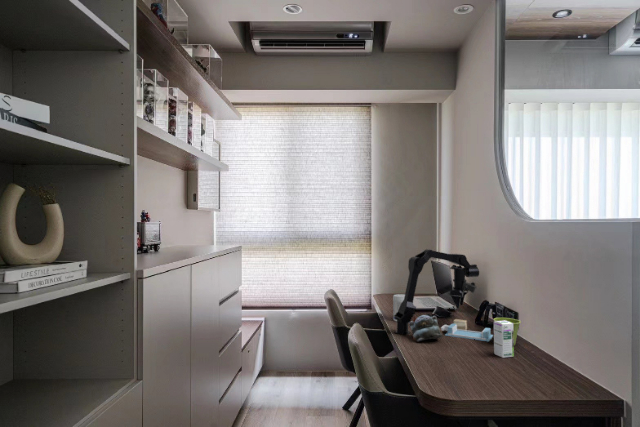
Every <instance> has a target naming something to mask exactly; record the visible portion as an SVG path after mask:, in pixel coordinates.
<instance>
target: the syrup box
mask: <svg viewBox="0 0 640 427" xmlns="http://www.w3.org/2000/svg"><path fill="white" fill-rule="evenodd" d="M514 346H515V345H514V333H513V323H512V322H509V321H505V320H504V321H494V320H493V351H494V352H493V353H494V355H496V356H498V357H500V358H502V359H504V358H512V357H515V350H514V349H515V347H514Z"/></svg>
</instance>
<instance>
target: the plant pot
mask: <svg viewBox="0 0 640 427" xmlns="http://www.w3.org/2000/svg"><path fill="white" fill-rule="evenodd" d="M504 320H505V321H509V322H512V323H513V333H514V346H515V345H516V342H517V339H518V338H517V336H518V332H519V331H518V330H519V328H520V324H521V323H522V322H521V320H519V319H517V318H516V319H515V318H509V317H495V318H493V322H494V321H504Z"/></svg>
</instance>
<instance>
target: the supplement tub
mask: <svg viewBox="0 0 640 427" xmlns="http://www.w3.org/2000/svg"><path fill="white" fill-rule="evenodd" d="M404 297H405V293H404V294H401V293H398V294H394V295H392V316H393V317H392V318H393V321H394V322H396V323H397V320H395V318H394V315H395V314H396V313H397V312H398V310H399V307H400V305H401V303H402V302H403V300H404Z"/></svg>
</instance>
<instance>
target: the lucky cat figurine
mask: <svg viewBox="0 0 640 427" xmlns="http://www.w3.org/2000/svg"><path fill="white" fill-rule="evenodd" d="M413 317H414V318H413V320H411V321H410V322H409V323H408V326H409V327H410V330H411V331H410V332H411V333H412V337H413V338H412V339H413V341H414V342H416V343H419V342H422V341H426V340H438V339H441V338H443V331H442V330H441V327H440V326H439V323H438V318H437V316H436V315H433V316H432V314H430V313H427V314H422V315H420V316H413Z"/></svg>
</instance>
